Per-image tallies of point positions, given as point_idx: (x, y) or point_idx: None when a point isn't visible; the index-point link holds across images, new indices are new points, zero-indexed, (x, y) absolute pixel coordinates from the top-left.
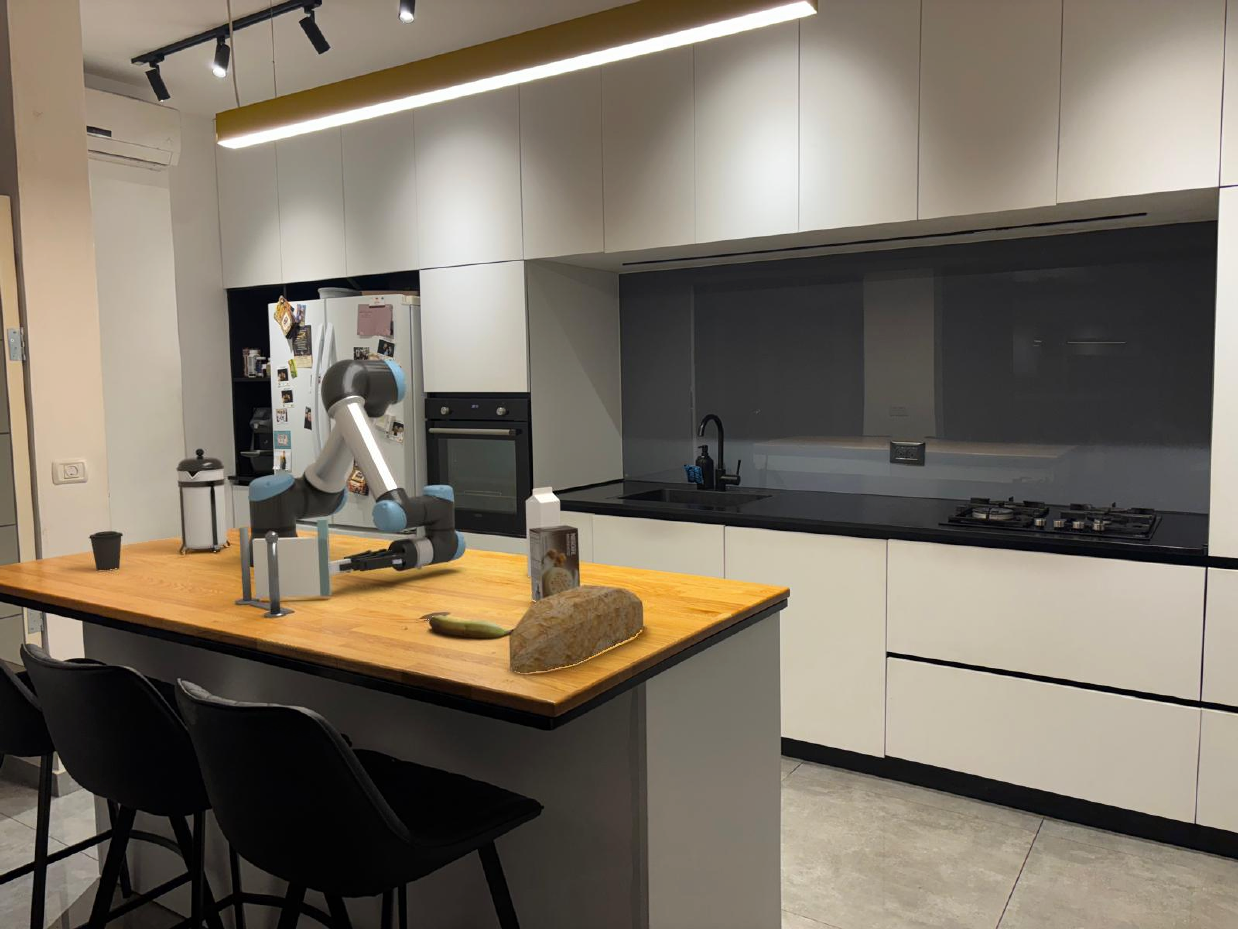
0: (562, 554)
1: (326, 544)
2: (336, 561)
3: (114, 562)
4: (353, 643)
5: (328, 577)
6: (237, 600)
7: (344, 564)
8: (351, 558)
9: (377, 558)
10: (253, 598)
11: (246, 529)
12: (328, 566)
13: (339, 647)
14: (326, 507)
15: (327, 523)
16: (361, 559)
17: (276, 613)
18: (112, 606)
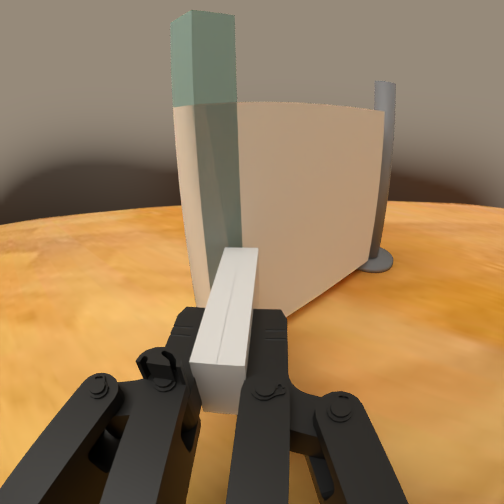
0: None
1: (179, 139)
2: (228, 287)
3: None
4: (25, 234)
5: (193, 284)
6: (382, 249)
7: (180, 318)
8: (243, 406)
9: (23, 475)
10: (382, 265)
11: (375, 83)
12: (187, 244)
13: (36, 226)
14: None
15: (181, 35)
16: (128, 419)
17: None
18: (445, 204)
